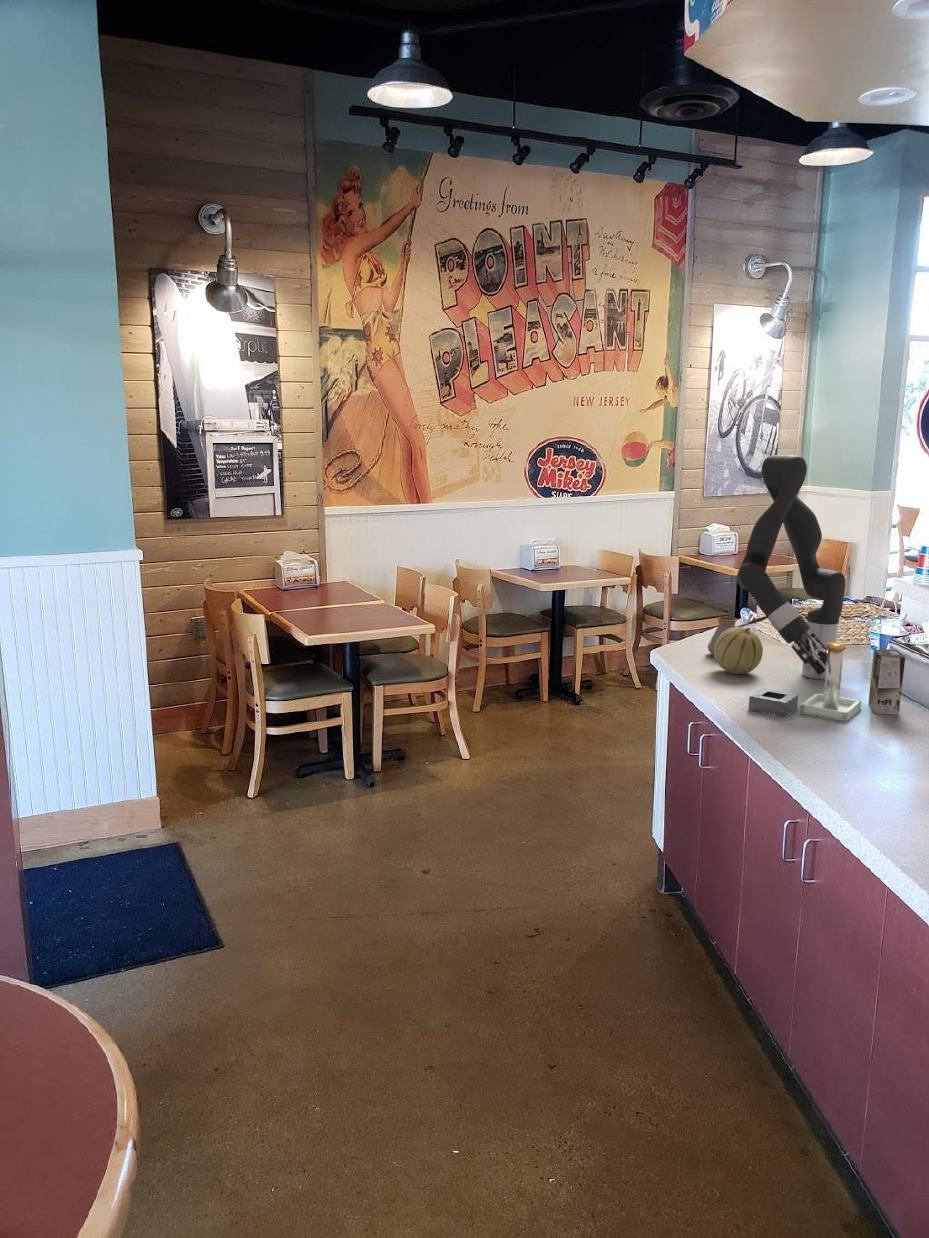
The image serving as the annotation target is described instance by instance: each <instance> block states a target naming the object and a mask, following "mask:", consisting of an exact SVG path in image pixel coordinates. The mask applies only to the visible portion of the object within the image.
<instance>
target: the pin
mask: <svg viewBox="0 0 929 1238" xmlns="http://www.w3.org/2000/svg"><path fill="white" fill-rule="evenodd" d="M826 648H828V651H827V662H826V674H825V679H824V685H823V686H824V687H823V694H824V696H823V708H828V709H833V710H838V706H839V697H840V693H841V684H842V673H843V671H842V670H843V662H844V661H843V660H844V653H845V652H844V650H847V644H846V643H843V642H838V641H837V642H828V643H826Z"/></svg>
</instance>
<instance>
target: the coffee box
mask: <svg viewBox="0 0 929 1238" xmlns="http://www.w3.org/2000/svg"><path fill="white" fill-rule="evenodd" d="M905 664H906V656H905V655H904V654H902V653H901V652H900V651H899V650H897V649H879V648H877V649H873V655H872V662H871V673H870V685H869V694H868V695H869V696H868V705H869V708H871V710H872V711H873V713H875V714H879V715H880V714H882V715H883V714H884V715H891V716H898V715H900V707H901V698H902V691H903V690H902V689H903V682H904V681H903V680H904V672H905Z"/></svg>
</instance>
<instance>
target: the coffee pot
mask: <svg viewBox="0 0 929 1238" xmlns="http://www.w3.org/2000/svg"><path fill="white" fill-rule="evenodd" d="M766 619H768V617H767V616H766V615H765V616H761V617H758V618H755V619H753V620H751V621H748V622H745V623H742V624H740V625H736V622H738V618H736V617H733V616H718V617H717V618H716V620H718V624H717V625H718V626H717V627H716V629H715V631H714V633H713V635H712V637H711V639H710V640H709V643H708V645H707V650H708V651H709V653H710V654H711V655H712V656H713V657H714V647H715V643H716V640H717V639H718V637H719V636H720V634H721V633H722V632H724V631H725V630H727V629H729V628H733V627H743V628H745V627H746V626H749V625H752V624H756V623H759V622H762V621H765V620H766ZM768 620H769V619H768Z"/></svg>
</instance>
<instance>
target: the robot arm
mask: <svg viewBox="0 0 929 1238" xmlns="http://www.w3.org/2000/svg"><path fill="white" fill-rule="evenodd" d="M807 471H808V465H807V462H806V459H804V457H802V456H801V455H795V454H794V455H793V454H773V455H769V456H767V457H766V458H765V459H763V462H762V465H761V477H762V481H763V483H764V485H765V487H766V489H767V492H768V493H769V495H770V497H771V499H772V500H773V503H772V504H771V505H770V506H769V507H768V508H767V509H766V510H765V511H764V512H763V513H762V515H760V517H759V518H758V519H757V521H756V522H755V524H754V526H753V528H752V530H751V533H750V537H749V540H748V542H747V545H746V546H747V547H746V552H745V555H744V557H743V560H742V563H741V565H740V567H739V568H738V571H737V576H736V577H737V578H736V581H737V584H738V585H739V587H740V588H741V589H743V590H745V591H748V592H749V594H750V595H751V596H752V597H753V599H754V600H755V602H756V605H757V606H758V608H759V609H760V610H761V611H762V613H763V614H764V615H765V616H767V617H768V620H769V622H770V624H771V625H772V626H773V628H774V629H775V631H777V633H778V634H779V636H781V637H782V639H783V640H784V642H786V643H787V644H792V643H793V645H791V648H792V650H793V652H795V654H796V655H797V656H798V657H799V658H800V660H801V661H802V668H801V669H802V670H801V675H802V676H803V677H807V678H808V679H816V680H825V674H826V662H827V651H828V648H826V643H828V642H838V635H839V623H840V619H841V618H840V617H841V614H842V613H843V605H844V599H845V593H846V587H847V586H846V584H847V582H846V577H845V575H844V574H843V573H842V572H841V571H839V570H838V571H837V570H832V569H826V568H822V567H821V566H820V565H819V562H818V558H817V552H818V551H819V547H820V545H821V543H822V537H823V534H822V530H821V526H820V524H819V520H818V518H817V516H816V514H815V513H814V512H813V510H812V509H811V508H810V507H809V506H808V505H807V504H806V503H804V501H802V500H801V498H799V497H798V495H799V492H800V491H801V488H802V487H803V484H804V483H805V480H806V476H807ZM782 526H783V527H784V530H785V532H786V534H787V538H788V541H789V543H790V545H791V548H792V550H793V551H792V552H793V553H794V556H795V561H796V562H797V565H798V570H799V574H800V577H801V582H802V585H803V589H804V591H805V593H806V595H807V596H809V597H810V598H814V599H817V600H822V605H821V607H820V608H816V609H815V608H814V609H811V610H809V611H808V612H807V614H806V615H807V616H806V620H805V618H804V617H803V616H802V615H801V614H800V612H798V610H797V609H796V607H794V606H793V604H791V603H790V602H789V601H788V600H787V598H786V597H785V596H784V595H783V594H782V592H781V591H780V590H779V589H778V588H777V587H776V586H775V584H774V582H773V580H772V579H771V578H770V576H769V574H768V573H767V572H766V571H767V567H768V563H769V559H770V558H771V556H772V554H773V551H774V547H775V544H776V542H777V539H778V536H779V533H780V530H781V529H782V528H781V527H782Z"/></svg>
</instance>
